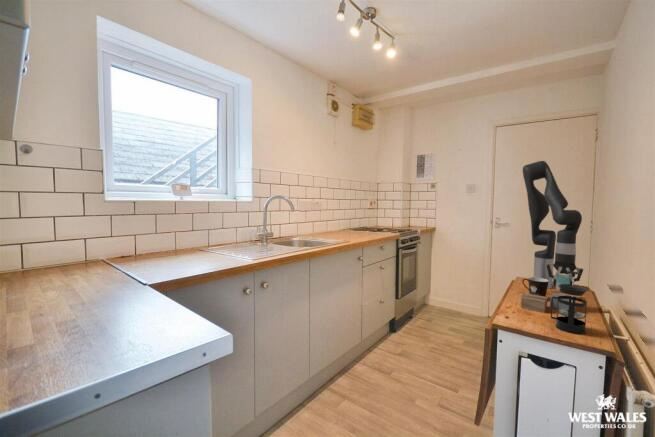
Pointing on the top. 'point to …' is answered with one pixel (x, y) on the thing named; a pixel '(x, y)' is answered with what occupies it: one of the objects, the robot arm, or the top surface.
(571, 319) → the french press
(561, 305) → the stand
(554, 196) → the robot arm
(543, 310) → the stand
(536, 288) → the coffee mug
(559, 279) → the teal rectangular block
